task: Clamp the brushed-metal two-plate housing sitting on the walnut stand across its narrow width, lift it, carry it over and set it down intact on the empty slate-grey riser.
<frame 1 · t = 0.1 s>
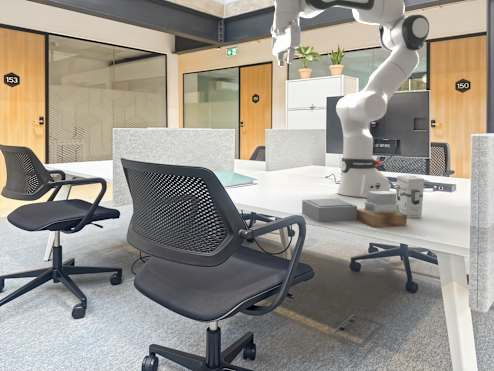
hand: (285, 65, 147), 48 cm above the table, tool pointing down, fingers open, 8 cm apart
ink box: (407, 215, 126), on the table
housing: (380, 211, 116), point 3 cm above the table, touching walnut stand
walnut stand: (379, 222, 116), on the table
grey riser: (328, 216, 123), on the table
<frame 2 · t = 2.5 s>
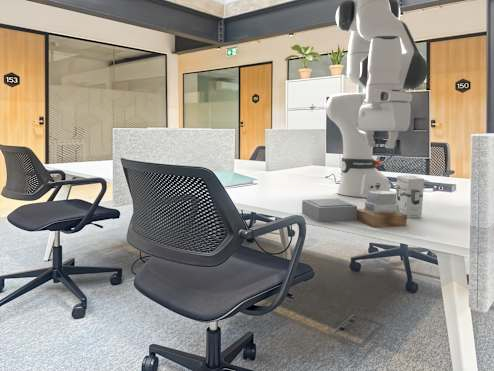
hand: (379, 147, 114), 21 cm above the table, tool pointing down, fingers open, 8 cm apart
nothing on the table moved.
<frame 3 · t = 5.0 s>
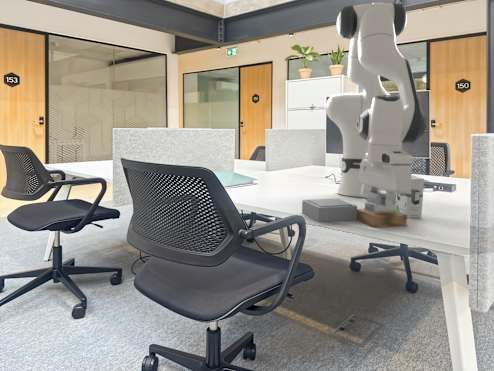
hand: (380, 204, 115), 5 cm above the table, tool pointing down, fingers closed on housing, 5 cm apart
housing: (380, 211, 116), point 3 cm above the table, touching gripper, walnut stand
everything else where it was.
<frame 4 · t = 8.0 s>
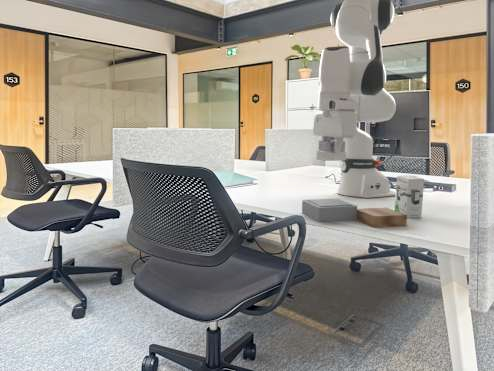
hand: (331, 152, 120), 19 cm above the table, tool pointing down, fingers closed on housing, 5 cm apart
housing: (331, 159, 120), point 17 cm above the table, touching gripper
everything else where it was.
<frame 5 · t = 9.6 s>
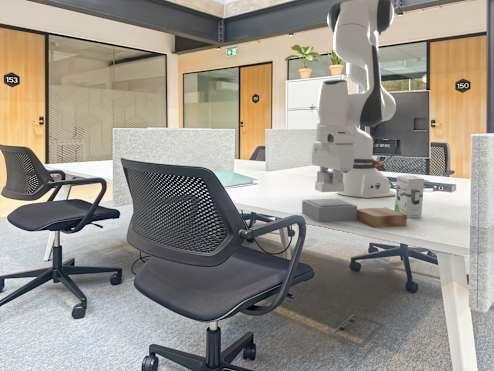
hand: (329, 183, 121), 10 cm above the table, tool pointing down, fingers closed on housing, 5 cm apart
housing: (329, 190, 121), point 8 cm above the table, touching gripper
everything else where it was.
when the fingers open (8 cm above the table, at t = 10.9 s): housing drops 1 cm, resting on grey riser.
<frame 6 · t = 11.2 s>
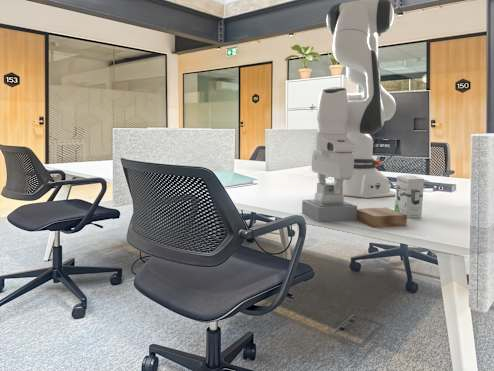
hand: (329, 191, 122), 8 cm above the table, tool pointing down, fingers open, 8 cm apart
housing: (329, 202, 122), point 4 cm above the table, touching grey riser
everything else where it was.
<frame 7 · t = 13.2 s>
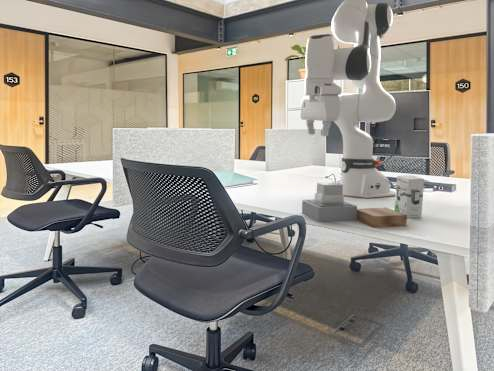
hand: (317, 135, 128), 24 cm above the table, tool pointing down, fingers open, 8 cm apart
nothing on the table moved.
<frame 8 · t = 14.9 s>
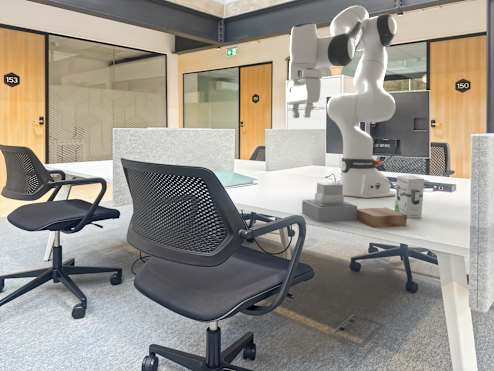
hand: (301, 117, 136), 29 cm above the table, tool pointing down, fingers open, 8 cm apart
nothing on the table moved.
at the end: housing inside the target area on the grey riser (0.0 cm from its centre), point 4.2 cm above the grey riser's base; housing tilted 0°; the gripper is holding nothing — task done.
